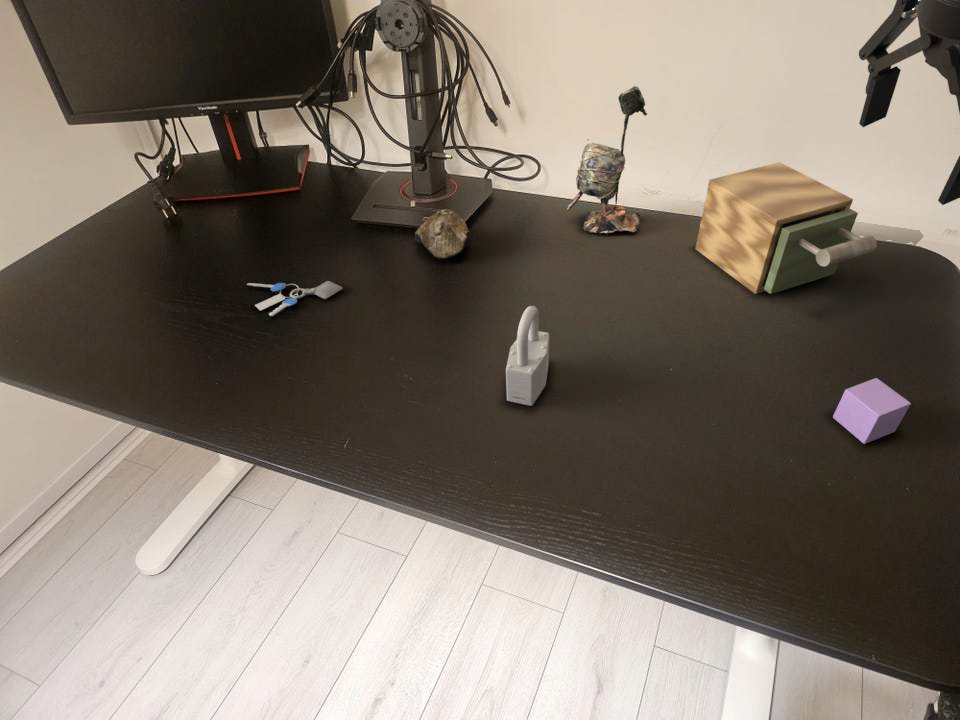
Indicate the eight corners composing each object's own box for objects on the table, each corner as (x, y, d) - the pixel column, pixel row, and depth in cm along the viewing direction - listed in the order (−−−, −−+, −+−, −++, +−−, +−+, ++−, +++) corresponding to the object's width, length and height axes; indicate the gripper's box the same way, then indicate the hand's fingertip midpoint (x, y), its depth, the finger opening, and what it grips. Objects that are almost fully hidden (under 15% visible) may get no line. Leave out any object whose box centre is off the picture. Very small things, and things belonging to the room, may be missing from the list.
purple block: (862, 405, 64) (876, 377, 61) (895, 431, 61) (911, 403, 58) (832, 417, 63) (845, 389, 60) (864, 444, 60) (879, 416, 57)
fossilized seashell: (482, 243, 88) (465, 222, 96) (454, 209, 84) (439, 190, 93) (443, 277, 89) (429, 253, 97) (413, 244, 85) (402, 223, 94)
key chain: (345, 283, 86) (344, 278, 86) (333, 318, 80) (332, 313, 80) (249, 285, 87) (247, 280, 87) (229, 320, 81) (227, 315, 80)
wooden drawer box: (826, 272, 82) (853, 199, 75) (755, 294, 79) (777, 220, 72) (760, 230, 91) (779, 161, 84) (695, 249, 88) (709, 179, 81)
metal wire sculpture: (579, 206, 100) (586, 76, 87) (647, 218, 96) (666, 84, 82) (560, 228, 95) (564, 95, 82) (632, 243, 90) (649, 104, 77)
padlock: (520, 360, 72) (518, 289, 65) (553, 366, 71) (555, 295, 64) (501, 401, 67) (498, 329, 60) (537, 408, 66) (538, 336, 59)
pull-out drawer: (866, 293, 76) (893, 231, 71) (799, 315, 74) (822, 252, 68) (772, 234, 88) (789, 176, 82) (712, 251, 86) (725, 193, 80)
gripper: (846, -74, 57) (813, 106, 75) (1055, 75, 44) (954, 250, 62) (927, -114, 56) (873, 78, 74) (1165, 26, 43) (1030, 218, 61)
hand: (910, 157), depth 68 cm, fingers open, 13 cm apart
